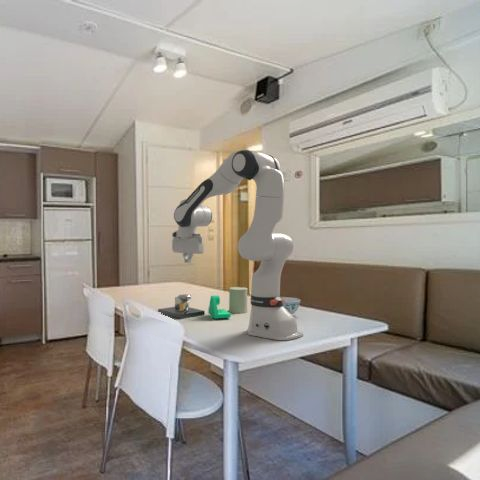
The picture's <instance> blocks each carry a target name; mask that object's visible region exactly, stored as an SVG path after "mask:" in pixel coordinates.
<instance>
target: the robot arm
mask: <svg viewBox="0 0 480 480" xmlns="http://www.w3.org/2000/svg"><path fill="white" fill-rule="evenodd" d="M280 167H281V166H280V162H279V160H278V159H277V158H275V157H274V156H272V155H270V154H265V153H263V152H261V151H255V150H248V149H242V150H235V151H233V152H232V153H230V154H229V155H228V156H227V157H226V158H225V160H224V161H222V163H221V165H220V166H219V167H218V168H217V170H216V171H215V172H214V173H213V174H211V176H209V177H208V178H206V179H204V180H203V181H202V182H201V183H200V184H198V185H197V187H196V188H195V189H194V190H193V192H191V194H190V195H189V196H188V197H187V198H186V199H183V200H181V201H180V202H179V205H177V207H176V208H175V210H174V212H173V219H174V221H175V223H176V224H177V225H178V229H177V230H175V231H174V232H172V234H171V236H172V240H171V241H172V242H171V248H172V251H173V253H177V254H182V257H183V259H184V260H183V262H184V263H185V264H191V263H192V259H193V256H194V254H197V255H200V254H201V255H202V254H203V253H204V251H205V246H204V240H203V236H202V235H201V233H198V227H207V226H209V225H210V224H211V223H212V221H213V212H212V210H211V208H210V207H208V206H205V205H203V203H204V202H205V201H206V200H208V199H209V198H213V197H215V196H216V197H217V196H221V195H222V196H223V195H229V194H231V193H233V192H234V190H236V189H237V188H238V187H239V185H240V183H241V182H242V181H243V179H245V180H248V181H251V180H252V181H254V183H255V184H256V185H255V187H256V190H255V201H254V210H253V211H254V212H253V218H252V221H251V223H250V226H249V228H247V231H246V232H245V233H244V234H243V235H242V236H241V237H240V238H239V240H238V244H237V249H238V250H237V251H238V253H239V256H240V257H241V258H242V259H244V260H247V261H253V262H260V264H259V267H258V268H257V269H256V271H255V272H254V273H253V274H252V276H251V295H250V305H251V310H250V314H249V315H250V316H249V323H248V326H247V327H248V328H247V330H246V331H247V335H248V336H254V337H259V338H264V339H270V340H275V341H291V340H295V339H298V338H301V337H303V336H304V332H303V331H301V330H298V323H297V319H296V318H295V317H294V315H293V314H290V313H289V312H288V311H287V310H286V309H285V307H284V306H283V302H285V301H283V300H285V299H282V298H281V297H282V296H281V295H280V294H281V276H282V272H283V271H282V270H283V268H284V265H285V263H286V261H287V259H288V258H289V257H290V256H291V255H292V253H293V251H294V244H293V243H294V242H293V240H292V238H291V237H290V236H288V234H284V233H280V232H274V230H275V227H276V225H277V224H278V223H279V222H280V221H282V219H283V216H284V215H283V213H284V204H285V203H284V201H285V181H284V174H283V173H282V171H280V170H281V168H280Z"/></svg>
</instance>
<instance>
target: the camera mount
mask: <svg viewBox="0 0 480 480" xmlns="http://www.w3.org/2000/svg"><path fill="white" fill-rule="evenodd" d="M220 302H221V297H220V295H211V296H210V300H209V306H208V314H209V316H210V318H211V319H213V320H214V319H215V320H216V319H229V318H231V316H232V313H231V312H229V310H226V309H224V308H222V309H218V306H219V305H220V304H221V303H220Z"/></svg>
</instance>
